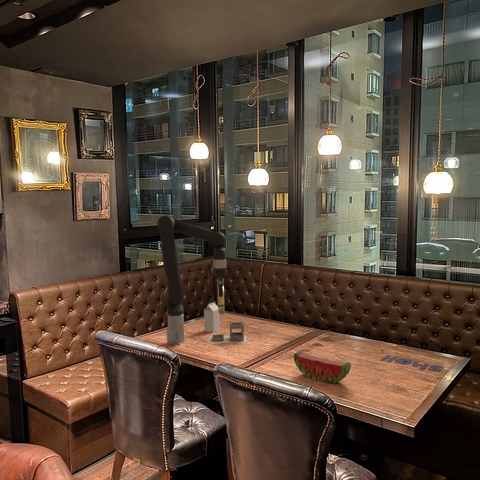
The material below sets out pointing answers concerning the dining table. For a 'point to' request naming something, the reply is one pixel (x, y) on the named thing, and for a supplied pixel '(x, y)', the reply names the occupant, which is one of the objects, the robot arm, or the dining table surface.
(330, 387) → the dining table surface
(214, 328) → the milk carton
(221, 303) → the brass tube
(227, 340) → the base board
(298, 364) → the fruit slice
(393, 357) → the signage
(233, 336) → the collar stand
